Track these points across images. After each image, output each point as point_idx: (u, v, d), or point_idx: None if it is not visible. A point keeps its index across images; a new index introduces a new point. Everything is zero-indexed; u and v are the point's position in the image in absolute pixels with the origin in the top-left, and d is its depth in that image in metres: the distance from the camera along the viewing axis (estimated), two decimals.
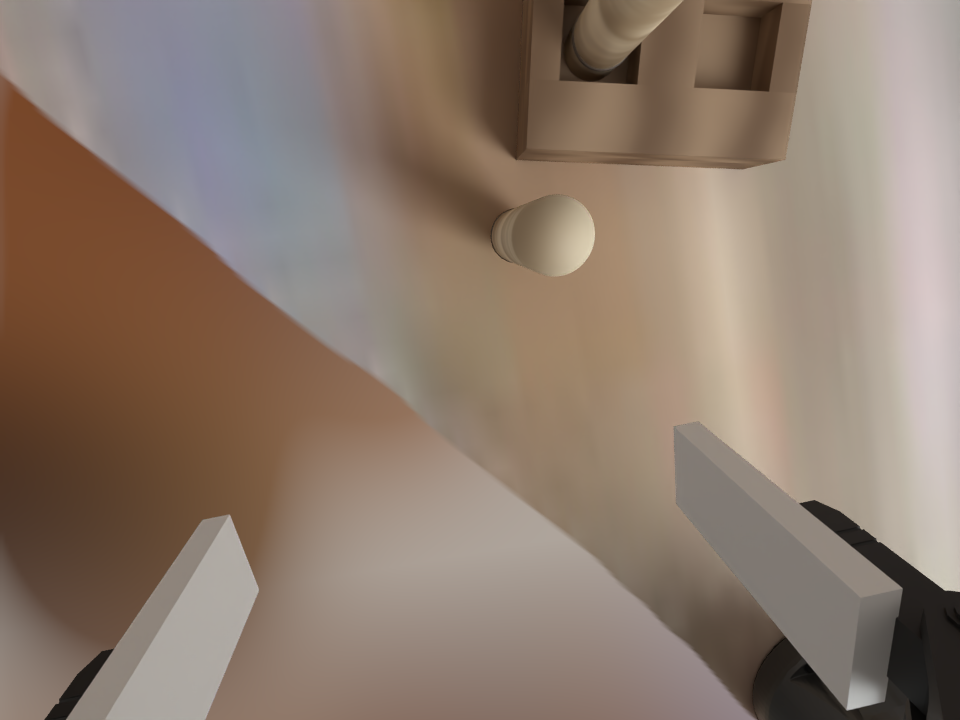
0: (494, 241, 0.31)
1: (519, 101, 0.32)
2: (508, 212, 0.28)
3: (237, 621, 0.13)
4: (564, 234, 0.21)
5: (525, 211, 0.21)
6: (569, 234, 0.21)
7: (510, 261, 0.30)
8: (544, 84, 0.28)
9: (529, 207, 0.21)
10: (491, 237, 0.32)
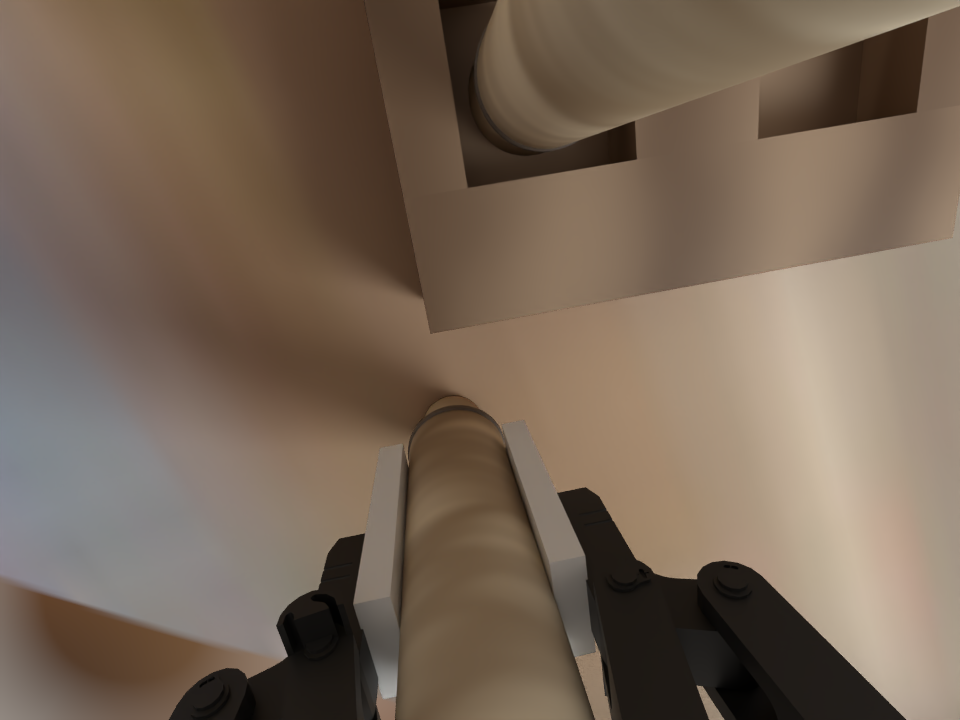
0: None
1: None
2: (418, 486, 0.14)
3: None
4: None
5: None
6: None
7: None
8: (437, 203, 0.13)
9: None
10: None
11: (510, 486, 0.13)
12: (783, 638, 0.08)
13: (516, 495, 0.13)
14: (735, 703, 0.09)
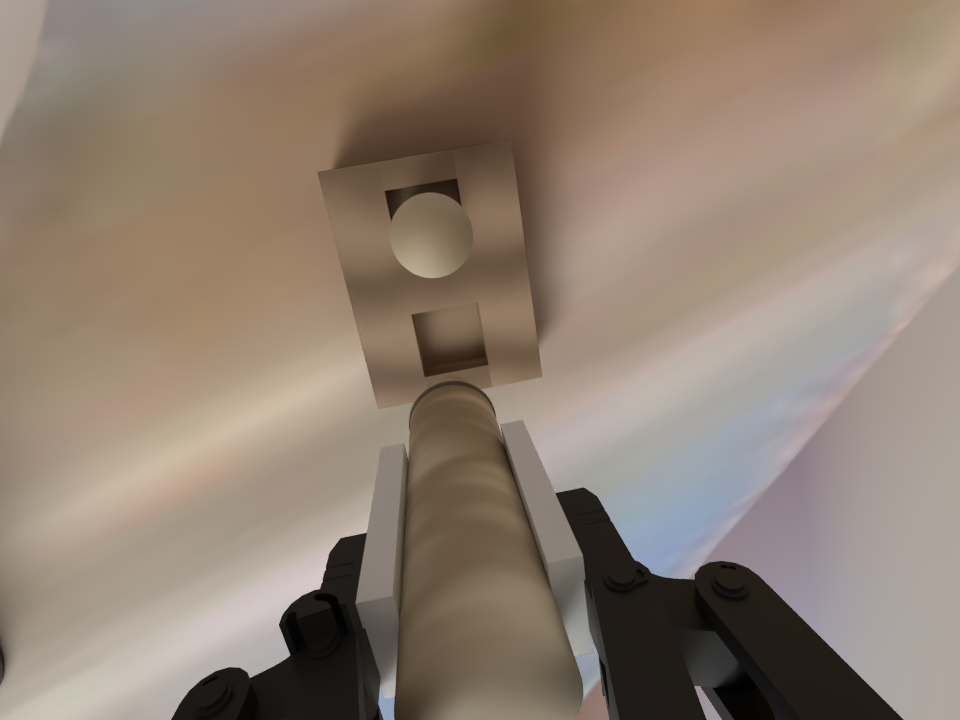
0: None
1: None
2: (418, 445, 0.16)
3: None
4: (510, 697, 0.09)
5: (404, 680, 0.08)
6: (523, 695, 0.09)
7: None
8: (377, 177, 0.30)
9: (411, 675, 0.08)
10: None
11: (497, 445, 0.15)
12: (781, 638, 0.08)
13: (502, 452, 0.15)
14: (733, 704, 0.09)
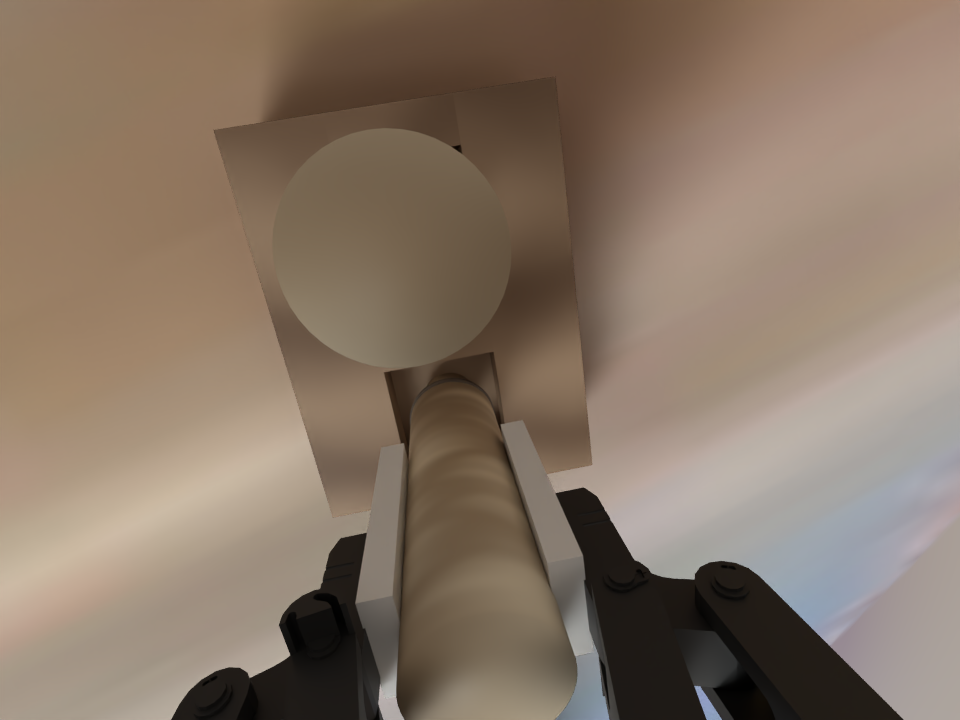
0: None
1: None
2: (419, 440, 0.16)
3: None
4: (507, 677, 0.09)
5: (406, 660, 0.09)
6: (519, 675, 0.09)
7: None
8: (321, 141, 0.17)
9: (412, 655, 0.09)
10: None
11: (496, 439, 0.16)
12: (781, 638, 0.08)
13: (501, 446, 0.16)
14: (733, 704, 0.09)
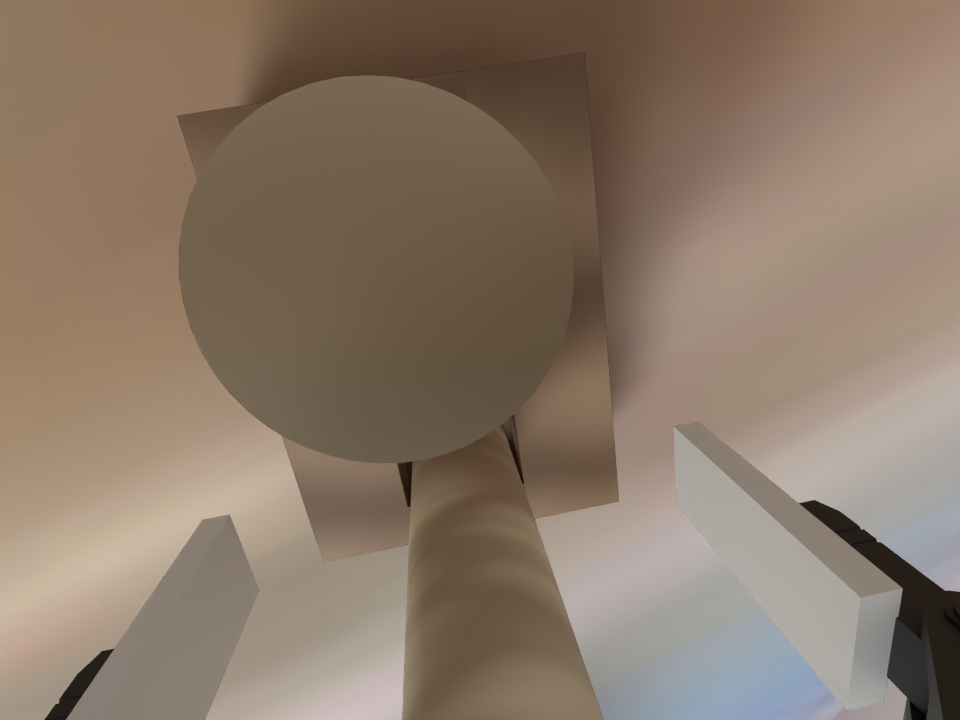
0: None
1: None
2: (423, 478, 0.14)
3: (237, 621, 0.13)
4: None
5: None
6: None
7: None
8: None
9: None
10: None
11: (512, 478, 0.14)
12: None
13: (518, 486, 0.14)
14: None
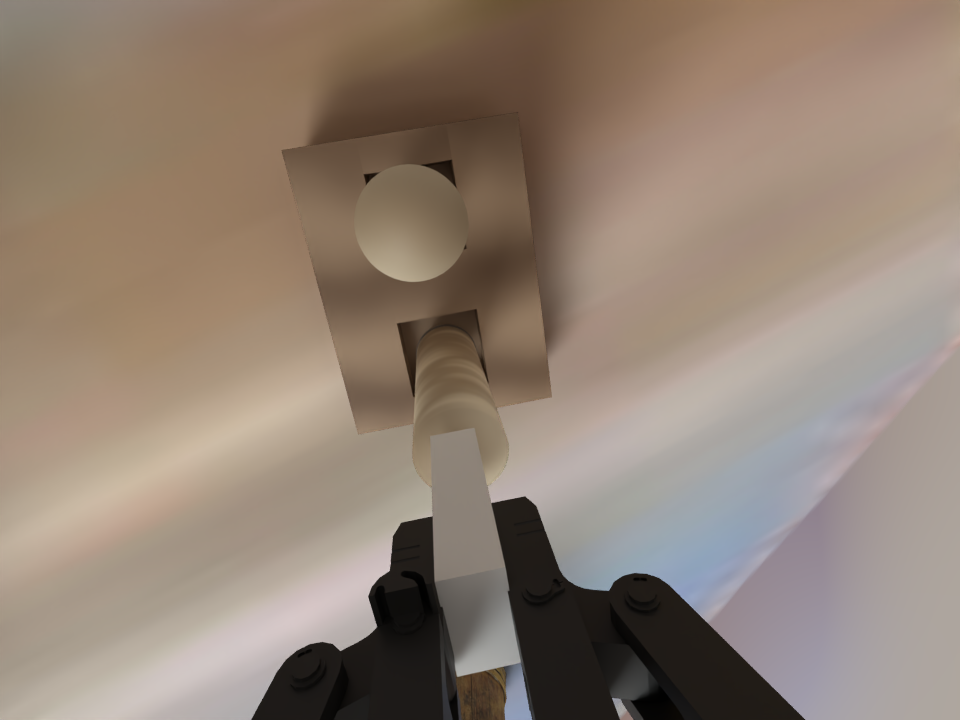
0: None
1: None
2: (422, 357, 0.24)
3: None
4: None
5: (417, 435, 0.17)
6: None
7: None
8: (354, 157, 0.25)
9: (421, 431, 0.17)
10: None
11: (473, 355, 0.24)
12: (690, 648, 0.08)
13: (477, 360, 0.24)
14: (653, 718, 0.09)
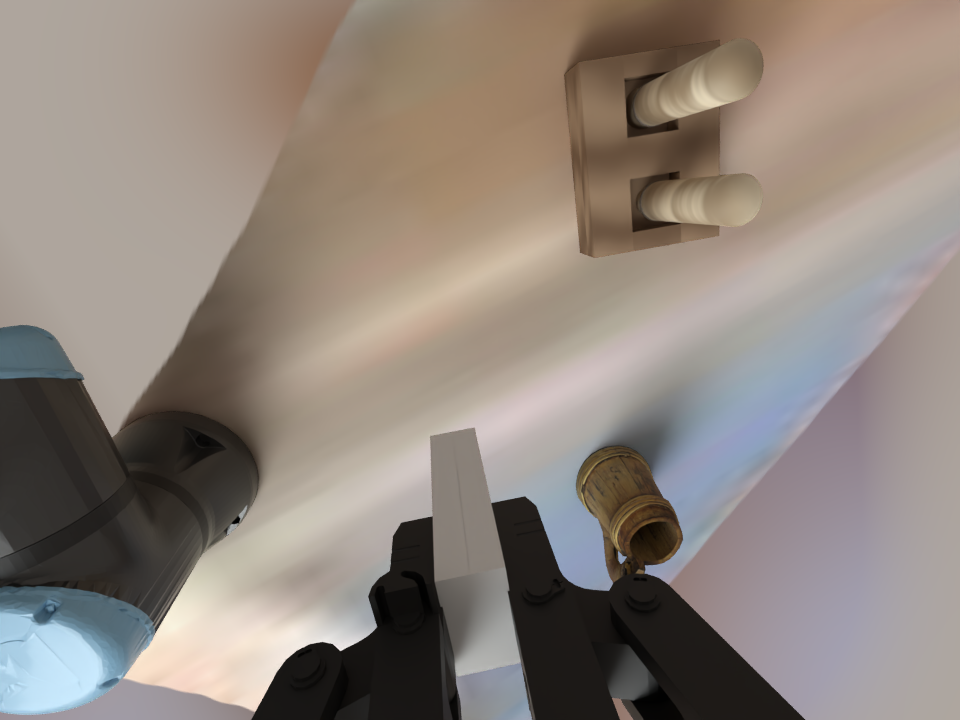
0: (649, 208, 0.42)
1: None
2: (666, 186, 0.40)
3: None
4: (744, 198, 0.33)
5: (719, 188, 0.33)
6: (747, 197, 0.33)
7: (666, 220, 0.42)
8: (620, 67, 0.41)
9: (721, 185, 0.33)
10: (641, 205, 0.44)
11: None
12: (690, 648, 0.08)
13: None
14: (653, 718, 0.09)
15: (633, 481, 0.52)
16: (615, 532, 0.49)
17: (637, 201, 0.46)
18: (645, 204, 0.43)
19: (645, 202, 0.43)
